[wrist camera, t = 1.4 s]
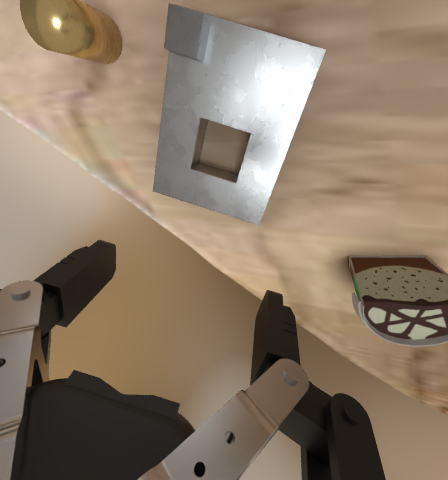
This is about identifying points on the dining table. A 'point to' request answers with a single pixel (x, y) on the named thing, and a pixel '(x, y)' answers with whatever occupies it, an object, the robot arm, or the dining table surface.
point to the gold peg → (72, 29)
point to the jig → (229, 108)
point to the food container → (401, 298)
